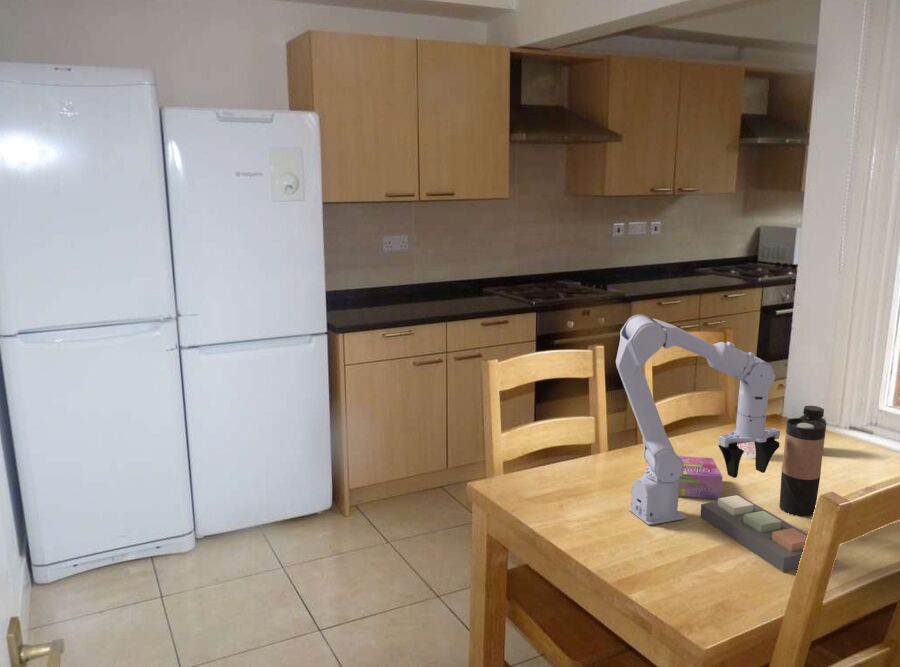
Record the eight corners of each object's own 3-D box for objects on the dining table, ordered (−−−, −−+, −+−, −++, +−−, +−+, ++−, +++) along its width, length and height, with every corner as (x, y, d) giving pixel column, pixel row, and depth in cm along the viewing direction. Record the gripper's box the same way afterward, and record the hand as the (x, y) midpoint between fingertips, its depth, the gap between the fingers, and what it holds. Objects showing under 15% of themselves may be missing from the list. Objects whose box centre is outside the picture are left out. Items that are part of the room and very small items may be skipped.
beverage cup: (730, 455, 194) (734, 404, 191) (740, 449, 198) (744, 399, 195) (752, 461, 190) (757, 409, 187) (762, 455, 194) (767, 404, 191)
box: (712, 456, 177) (722, 476, 166) (711, 478, 179) (720, 499, 167) (668, 454, 179) (675, 473, 168) (667, 476, 180) (673, 496, 169)
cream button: (733, 517, 153) (733, 508, 153) (717, 507, 158) (717, 498, 157) (752, 513, 155) (753, 504, 154) (736, 503, 159) (737, 495, 159)
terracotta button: (790, 553, 138) (791, 543, 138) (771, 541, 143) (772, 531, 143) (811, 549, 140) (812, 539, 140) (791, 537, 145) (792, 527, 144)
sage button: (760, 534, 146) (761, 525, 145) (743, 523, 150) (743, 514, 150) (780, 530, 147) (781, 521, 147) (762, 519, 152) (763, 510, 152)
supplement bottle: (797, 453, 195) (801, 410, 192) (793, 445, 201) (797, 403, 198) (825, 456, 193) (830, 413, 190) (820, 447, 199) (825, 405, 196)
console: (782, 572, 137) (784, 557, 136) (700, 516, 159) (701, 504, 158) (828, 562, 140) (830, 547, 140) (741, 509, 162) (743, 496, 162)
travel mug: (794, 519, 158) (803, 430, 153) (770, 504, 165) (778, 419, 161) (824, 514, 160) (834, 427, 155) (799, 500, 167) (807, 416, 163)
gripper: (737, 423, 149) (732, 485, 152) (793, 415, 154) (786, 475, 157) (713, 413, 156) (709, 472, 159) (768, 405, 161) (762, 463, 163)
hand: (746, 473), depth 158 cm, fingers open, 7 cm apart
